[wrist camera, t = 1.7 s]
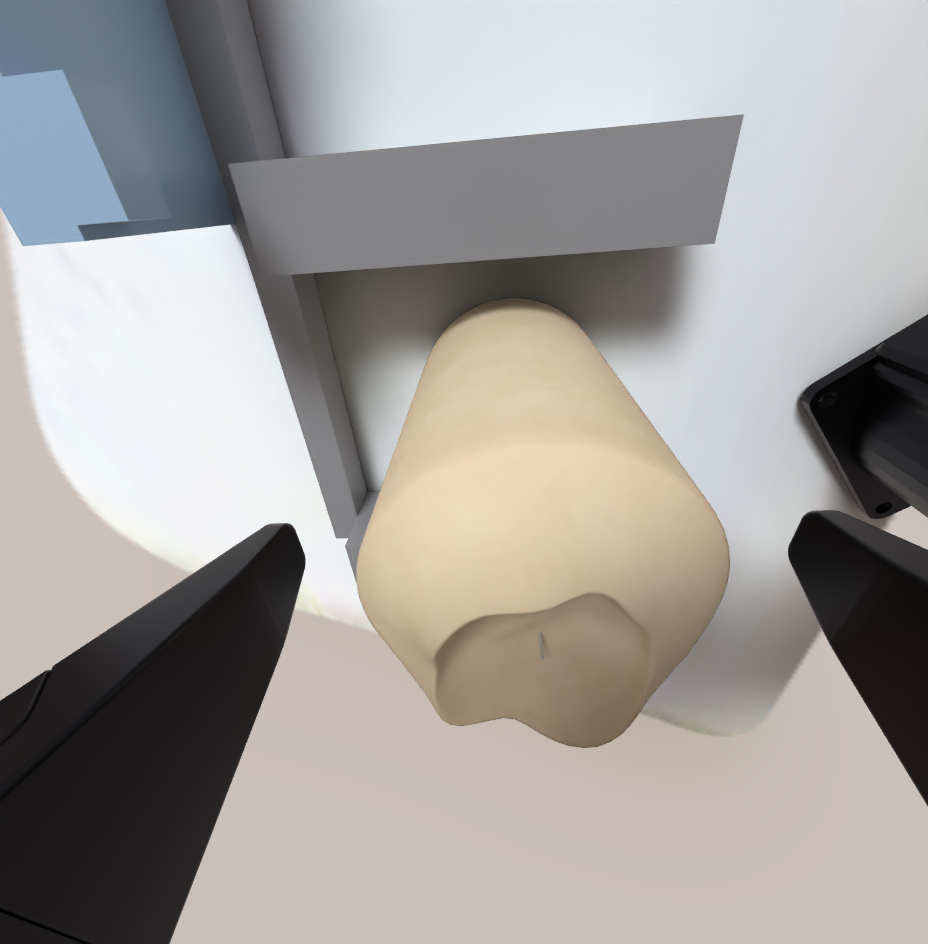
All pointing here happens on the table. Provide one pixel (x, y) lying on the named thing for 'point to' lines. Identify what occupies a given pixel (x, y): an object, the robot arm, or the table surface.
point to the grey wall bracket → (307, 182)
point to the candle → (536, 534)
